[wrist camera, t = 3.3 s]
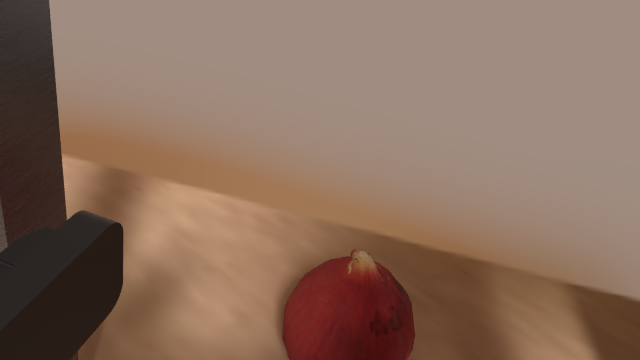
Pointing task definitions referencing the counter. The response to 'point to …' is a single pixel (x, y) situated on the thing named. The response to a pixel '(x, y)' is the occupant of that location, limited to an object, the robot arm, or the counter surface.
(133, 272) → the counter surface
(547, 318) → the counter surface
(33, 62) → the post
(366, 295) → the onion
